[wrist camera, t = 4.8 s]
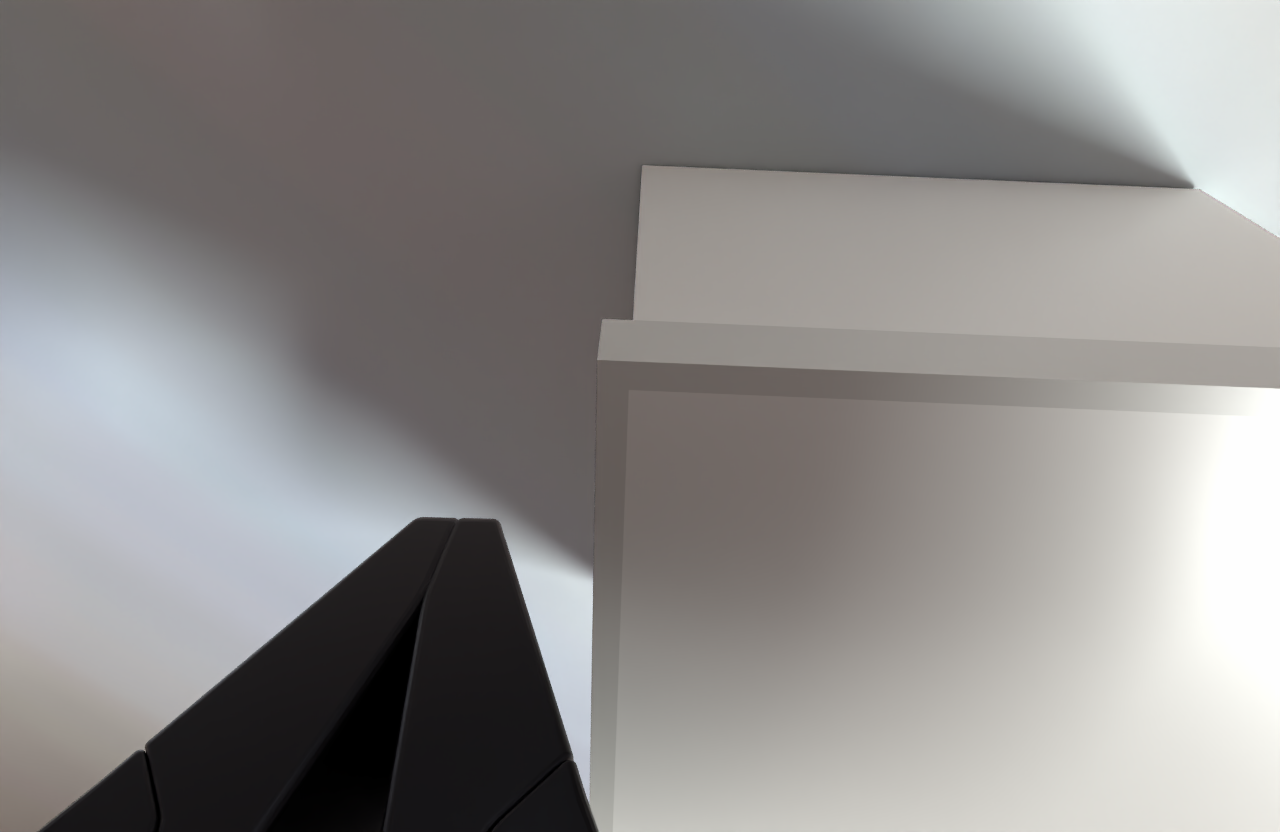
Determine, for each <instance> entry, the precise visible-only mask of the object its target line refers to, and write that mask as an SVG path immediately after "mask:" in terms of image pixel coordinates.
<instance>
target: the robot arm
mask: <svg viewBox="0 0 1280 832" xmlns="http://www.w3.org/2000/svg"><path fill="white" fill-rule="evenodd" d="M145 750H146V753H145V751H143V750H138V751H136V752H134V753H133V754H132V755H131V756H130V757H128V758H127V759H126V760H125V761H124V762H122V763H121V764H120V765H119V766H118V767H116V768H115V769H114V770H113V771H112V772H110V773H109V774H108V775H107V776H106V777H104V778H103V779H102V780H101V781H100V782H98V783H97V784H96V785H95V786H93V787H92V788H91V789H90V790H88V791H87V792H86V793H85V794H83V795H82V796H81V797H80V798H78V799H77V800H76V801H75V802H73V803H72V804H71V805H70V806H68V807H67V808H66V809H65V810H63V811H62V812H61V813H60V814H58V815H57V816H56V817H55V818H53V819H52V820H51V821H50V822H48V823H47V824H46V825H45V826H43V827H42V828H41V829H40V830H38V831H37V832H599V830H598V828H597V825H596V822H595V819H594V816H593V814H592V811H591V808H590V805H589V803H588V800H587V797H586V794H585V791H584V788H583V784H582V781H581V778H580V775H579V771H578V768H577V765H576V763H575V762H574V761H573V754H572V751H571V747H570V744H569V741H568V738H567V735H566V731H565V728H564V725H563V722H562V719H561V715H560V712H559V709H558V706H557V703H556V700H555V696H554V693H553V690H552V687H551V684H550V680H549V677H548V674H547V671H546V668H545V664H544V661H543V658H542V655H541V652H540V648H539V645H538V642H537V639H536V636H535V632H534V629H533V626H532V623H531V620H530V616H529V613H528V610H527V607H526V604H525V600H524V597H523V594H522V591H521V588H520V585H519V581H518V578H517V575H516V572H515V569H514V565H513V562H512V559H511V556H510V553H509V549H508V546H507V543H506V540H505V537H504V533H503V530H502V527H501V524H500V523H499V521H498V520H496V519H483V518H461V519H459V520H458V519H456V518H439V517H420V518H417V519H415V520H413V521H412V522H411V523H409V524H408V525H407V526H406V527H405V528H403V529H402V530H401V531H400V532H399V533H397V534H396V535H395V536H394V537H393V538H391V539H390V540H389V541H388V542H387V543H385V544H384V545H383V546H382V547H381V548H379V549H378V550H377V551H376V552H375V553H373V554H372V555H371V556H370V557H369V558H367V559H366V560H365V561H364V562H363V563H361V564H360V565H359V566H358V567H357V568H355V569H354V570H353V571H352V572H351V573H349V574H348V575H347V576H346V577H345V578H343V579H342V580H341V581H340V582H339V583H337V584H336V585H335V586H334V587H333V588H331V589H330V590H329V591H328V592H327V593H325V594H324V595H323V596H322V597H321V598H320V599H318V600H317V601H316V602H315V603H314V604H312V605H311V606H310V607H309V608H308V609H306V610H305V611H304V612H303V613H302V614H300V615H299V616H298V617H297V618H296V619H294V620H293V621H292V622H291V623H290V624H288V625H287V626H286V627H285V628H284V629H282V630H281V631H280V632H279V633H278V634H276V635H275V636H274V637H273V638H272V639H270V640H269V641H268V642H267V643H266V644H264V645H263V646H262V647H261V648H260V649H258V650H257V651H256V652H255V653H254V654H252V655H251V656H250V657H249V658H248V659H246V660H245V661H244V662H243V663H242V664H240V665H239V666H238V667H237V668H236V669H234V670H233V671H232V672H231V673H230V674H228V675H227V676H226V677H225V678H224V679H222V680H221V681H220V682H219V683H218V684H216V685H215V686H214V687H213V688H212V689H210V690H209V691H208V692H207V693H206V694H204V695H203V696H202V697H201V698H200V699H198V700H197V701H196V702H195V703H194V704H192V705H191V706H190V707H189V708H188V709H187V710H185V711H184V712H183V713H182V714H181V715H179V716H178V717H177V718H176V719H175V720H173V721H172V722H171V723H170V724H169V725H167V726H166V727H165V728H164V729H163V730H161V731H160V732H159V733H158V734H157V735H155V736H154V737H153V738H152V739H151V740H149V741H148V742H147V743H146V745H145Z"/></svg>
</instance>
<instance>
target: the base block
mask: <svg viewBox="0 0 1280 832" xmlns="http://www.w3.org/2000/svg"><path fill="white" fill-rule="evenodd" d="M590 808H591V811H592V814H593V816H594V819H595V822H596V825H597V828H598V830H599V832H1280V238H1278V237H1277V236H1275V235H1274V234H1272V233H1270V232H1269V231H1267V230H1265V229H1264V228H1262V227H1261V226H1259V225H1257V224H1256V223H1254V222H1252V221H1251V220H1249V219H1248V218H1246V217H1244V216H1243V215H1241V214H1239V213H1238V212H1236V211H1235V210H1233V209H1231V208H1230V207H1228V206H1226V205H1225V204H1223V203H1222V202H1220V201H1218V200H1217V199H1215V198H1213V197H1212V196H1210V195H1209V194H1207V193H1205V192H1204V191H1202V190H1200V189H1186V188H1163V187H1140V186H1116V185H1093V184H1070V183H1046V182H1023V181H1000V180H976V179H953V178H930V177H906V176H883V175H860V174H836V173H813V172H790V171H766V170H743V169H720V168H696V167H673V166H650V165H642V175H641V192H640V209H639V226H638V243H637V259H636V276H635V293H634V310H633V320H619V319H602V324H601V332H600V340H599V348H598V356H597V391H596V450H595V510H594V569H593V629H592V688H591V747H590Z"/></svg>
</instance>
